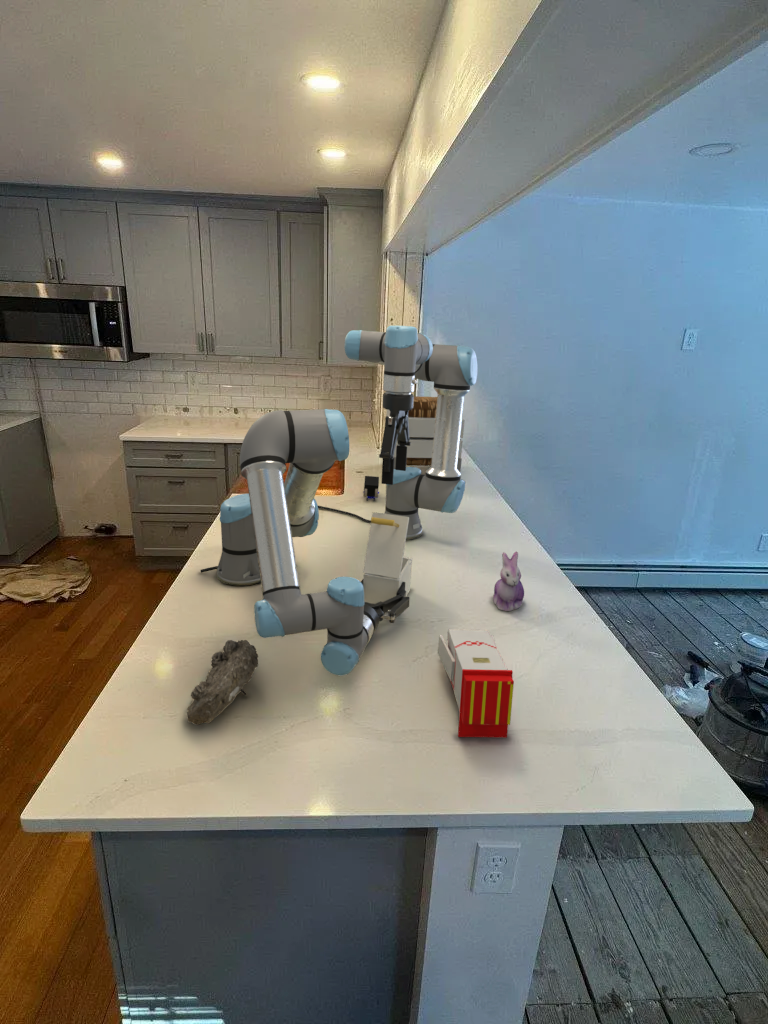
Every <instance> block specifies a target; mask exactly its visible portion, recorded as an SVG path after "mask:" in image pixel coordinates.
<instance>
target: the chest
mask: <svg viewBox="0 0 768 1024" xmlns="http://www.w3.org/2000/svg"><path fill="white" fill-rule="evenodd" d="M412 567H413V558H412V557H407V556H403V562H402V568H401V575H400V579H398V578H392V577H386V576H380V575H374V574H368V573H363V578H362V579H363V587H364V601H365V602H368V603H373V604H376V603H378V602H380V601H381V602H384V601H386V600H388V599H391V598H393V597H395V596H396V593H397V591H398V589H399V588H400V586H401V584H402V582H405V591H406V597H408V595H409V593H410V591H411V583H412V580H411V579H412ZM386 613H387V612H386ZM386 613H385V614H386Z"/></svg>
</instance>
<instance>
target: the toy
mask: <svg viewBox="0 0 768 1024" xmlns="http://www.w3.org/2000/svg"><path fill="white" fill-rule="evenodd" d="M446 640H447V643H446V641H445V639H444V636H443V635H442V634H439V637H438V646H437V656H438V657H439V659H440V661H441V663H442V666H443V668H444V670H445V672H446V674H447V677H448V679H449V681H450V684H451V687H452V690H453V693H454V697H455V701H456V705H457V708H458V711H459V714H458V715H459V716H458V730H457V731H458V732H457V737H458V738H508V731H509V726H510V725H511V717H512V707H513V697H514V696H513V695H514V684H515V680H514V679H513V673H514V671H513V670H512V669H508V667H507V665H506V662H505V661H504V659H503V658H502V655H501V653H500V651H499V649H498V647H497V643H496V639H495V637H494V635H493V634H491V632H490V631H489V629H467V628H466V629H465V628H463V629H461V628H460V629H459V628H448V630H447V639H446Z"/></svg>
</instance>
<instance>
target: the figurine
mask: <svg viewBox="0 0 768 1024" xmlns="http://www.w3.org/2000/svg"><path fill="white" fill-rule="evenodd" d="M501 558H502V559H501V560H502V568H501V570H500V574H499V575H500V579H498V580H497V581H496V582H495V584H494V588H493V598H492V600H493V604H494V605H495V606H496V607H497V609H498V610H500V611H504V612H505V611H506V612H512V611H513V610H518V609H519V608H521V605H522V604H523V601H524V598H525V589H524V585H523V583H522V581H521V578H522V573H521V570H520V568H519V566H518V560H519V552H518V551H515V552H514V553H513V554H512V556H511V558H509V557H508V555H507V553H506V552H505V551H503V552H502V553H501Z"/></svg>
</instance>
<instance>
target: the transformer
mask: <svg viewBox="0 0 768 1024" xmlns="http://www.w3.org/2000/svg"><path fill="white" fill-rule="evenodd" d="M436 407H437V396H415V395H414V401H413V409H412V410H409V412H408V422H409V439H410V440H409V442H411V444H410V446H407V460H406V467H417V466H418V467H431V463H432V452H433V440H434V429H435V418H436ZM385 414H386V415H385V417H386V416H390V410H387V409H386V413H385ZM464 429H465V419H464V418H462V424H461V433H460V443H459V452H458V462H457V469H458V471H459V472H460V473H461V472H462V461H463V460H462V453H463V442H464V441H463V440H462V439H463V438H464V431H465V430H464ZM397 445H398V442H396V446H395V451H394V455H393V458H394V469H395V468H396V448H397ZM399 446H400V445H399ZM387 453H389V452H387ZM461 474H462V473H461Z"/></svg>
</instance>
